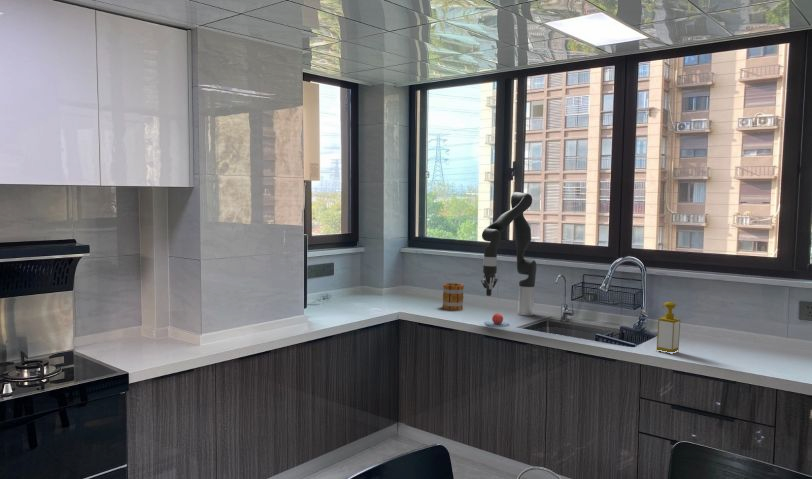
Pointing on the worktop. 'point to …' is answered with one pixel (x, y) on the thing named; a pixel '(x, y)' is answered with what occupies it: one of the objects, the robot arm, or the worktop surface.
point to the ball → (497, 318)
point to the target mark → (491, 323)
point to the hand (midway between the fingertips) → (488, 295)
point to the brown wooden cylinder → (452, 296)
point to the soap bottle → (668, 330)
